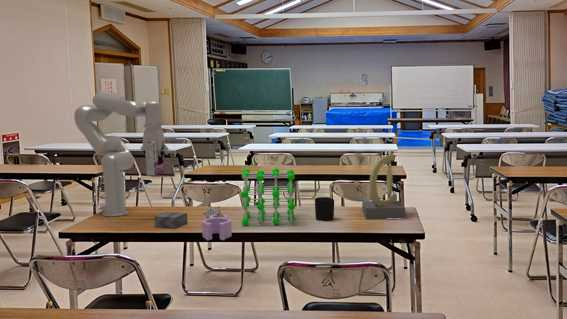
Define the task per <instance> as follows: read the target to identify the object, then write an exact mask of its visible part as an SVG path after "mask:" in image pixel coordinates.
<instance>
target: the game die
mask: <svg viewBox="0 0 567 319" xmlns="http://www.w3.org/2000/svg"><path fill="white" fill-rule="evenodd" d="M202 215H204V216H205V219H209V218H210V216H212V215H217V218H221V217H222V215H223V214H222V212H221V210H220V206H218V207H213V206H210V205H209V208H207V210H206V211H205V212H203V213H202Z"/></svg>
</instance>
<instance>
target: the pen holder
mask: <svg viewBox="0 0 567 319" xmlns="http://www.w3.org/2000/svg"><path fill="white" fill-rule="evenodd" d="M314 211H315V212H314V213H315V219H316V220H317V221H320V222H328V221H333V220H334V218H335V199H334V198H332V197H330V196H320V197H315V198H314Z"/></svg>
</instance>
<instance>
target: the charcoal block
mask: <svg viewBox="0 0 567 319" xmlns="http://www.w3.org/2000/svg"><path fill="white" fill-rule="evenodd" d="M187 224H188V212H177V211H176V212H175V211H165V212H162V213H160V214H157V215H154V227H155V228H161V229H162V228H164V229H165V228H166V229H174V230H175V229H178V228H180V227H182V226H185V225H187Z"/></svg>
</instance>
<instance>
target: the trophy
mask: <svg viewBox="0 0 567 319" xmlns="http://www.w3.org/2000/svg"><path fill="white" fill-rule="evenodd" d="M396 157H397V154H393V153H392V154H387V155H384V156H382V157H381V158H379V159H378V160H377V161H376V162H375V164H374V165H373V167H372V170H371V172H370V175H369V184H368V186H369V194H370V199H371V200H362V201H361V202H362V203H361V204H362V205H361V206H362V208H361V210H362V213H363V217H364V218H365V220H388V219H387V218H405V219H406V206H404V205H403V204H402V202H401V201H400V200H397V199H398V195H397V193H393V191H392V190H393V168H392V165H391V162H392V161H393V162H395V161H396ZM386 163H388V165H387V169H386V189H387V194H388V198H387V199H385V200H384V199H383V200H382V199H381V198H380V197H379V194H378V186H377V184H378V183H377V180H378V174H379V171H380V169H381V168H382V166H383V165H384V164H386ZM392 193H393V195H392ZM381 218H382V219H381Z"/></svg>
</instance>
